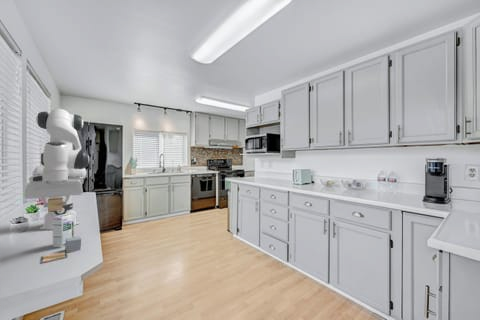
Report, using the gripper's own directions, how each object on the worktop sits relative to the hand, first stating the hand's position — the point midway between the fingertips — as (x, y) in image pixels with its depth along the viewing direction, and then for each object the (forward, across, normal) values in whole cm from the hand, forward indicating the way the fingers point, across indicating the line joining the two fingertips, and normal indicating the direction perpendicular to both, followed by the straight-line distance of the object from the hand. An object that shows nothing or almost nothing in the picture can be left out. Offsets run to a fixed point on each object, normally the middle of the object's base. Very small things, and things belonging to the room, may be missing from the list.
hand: (55, 206), depth 97 cm
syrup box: (+20, -3, -4) cm, 21 cm away
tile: (+20, 0, +11) cm, 23 cm away
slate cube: (+20, -6, +7) cm, 22 cm away
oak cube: (+2, 0, 0) cm, 2 cm away
